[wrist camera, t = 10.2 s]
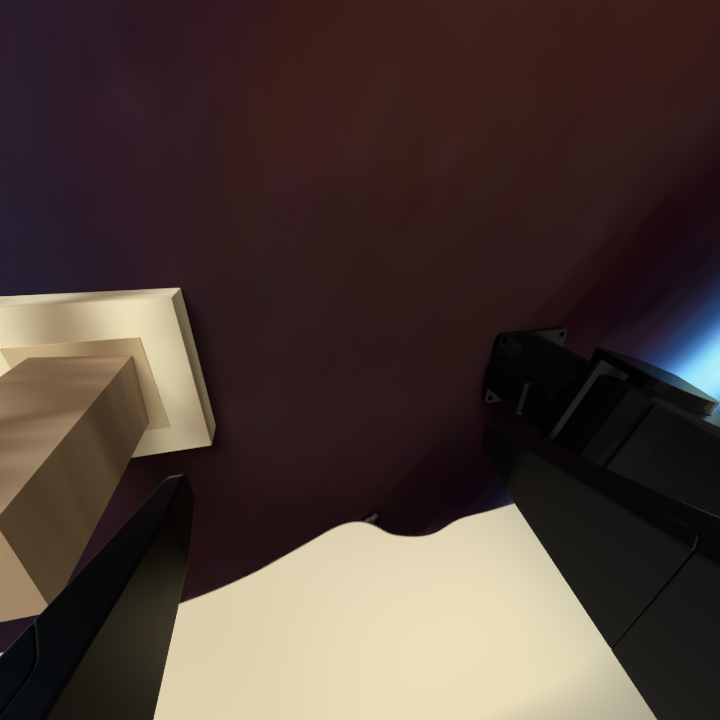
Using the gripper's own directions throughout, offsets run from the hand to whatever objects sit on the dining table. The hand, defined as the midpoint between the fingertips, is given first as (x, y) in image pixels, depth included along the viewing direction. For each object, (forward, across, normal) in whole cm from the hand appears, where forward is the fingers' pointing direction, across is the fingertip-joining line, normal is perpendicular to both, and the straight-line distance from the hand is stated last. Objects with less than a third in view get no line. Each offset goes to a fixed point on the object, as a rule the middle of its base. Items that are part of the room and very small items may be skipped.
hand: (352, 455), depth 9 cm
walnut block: (+11, +12, +3) cm, 16 cm away
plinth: (+13, +12, +3) cm, 18 cm away
